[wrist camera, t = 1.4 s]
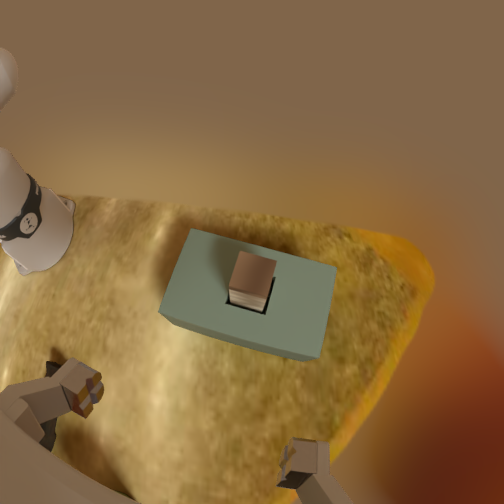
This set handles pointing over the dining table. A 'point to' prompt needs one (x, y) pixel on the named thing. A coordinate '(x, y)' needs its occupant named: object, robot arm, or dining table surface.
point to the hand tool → (50, 424)
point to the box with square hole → (244, 321)
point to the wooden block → (251, 281)
